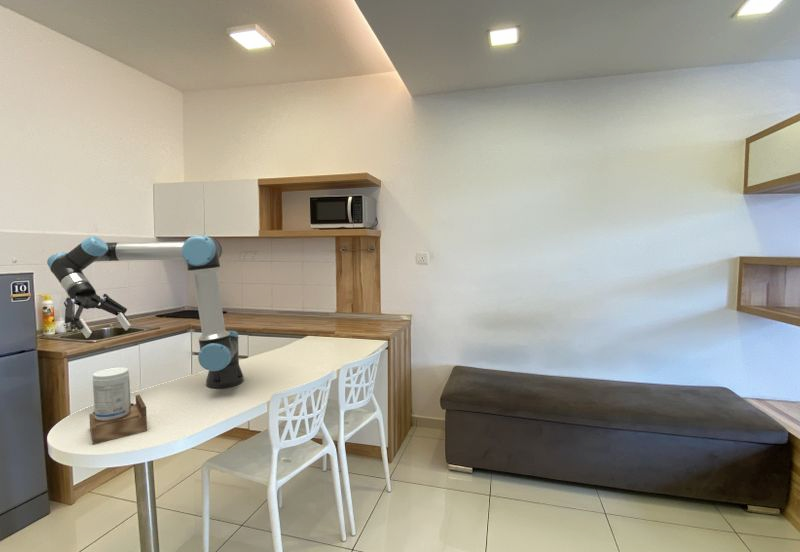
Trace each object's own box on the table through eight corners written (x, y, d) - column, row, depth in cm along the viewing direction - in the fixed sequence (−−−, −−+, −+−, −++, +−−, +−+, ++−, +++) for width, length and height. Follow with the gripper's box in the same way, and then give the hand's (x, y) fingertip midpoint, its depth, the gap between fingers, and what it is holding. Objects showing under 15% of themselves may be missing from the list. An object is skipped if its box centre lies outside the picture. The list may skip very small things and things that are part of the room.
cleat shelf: (140, 416, 139) (139, 394, 138) (147, 430, 128) (146, 406, 128) (90, 428, 130) (88, 404, 129) (92, 444, 119) (91, 418, 119)
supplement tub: (107, 410, 132) (104, 367, 131) (137, 409, 133) (135, 366, 132) (87, 422, 123) (85, 376, 122) (120, 421, 124) (117, 375, 123)
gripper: (108, 291, 157) (137, 331, 153) (33, 299, 134) (65, 346, 130) (117, 278, 155) (147, 318, 151) (42, 284, 132) (75, 331, 128)
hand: (109, 331), depth 141 cm, fingers open, 13 cm apart
